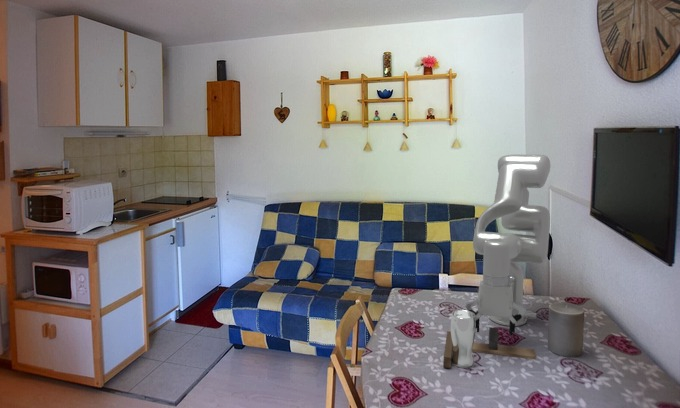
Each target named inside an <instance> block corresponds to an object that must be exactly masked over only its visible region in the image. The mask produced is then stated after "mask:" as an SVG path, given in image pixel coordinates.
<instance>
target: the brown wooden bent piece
mask: <svg viewBox="0 0 680 408" xmlns="http://www.w3.org/2000/svg"><path fill="white" fill-rule="evenodd" d="M488 330H489V331H488V343H484V342H475V341H474V343H473V347H472V353H474V352H475V353H479V354H481V353H482V354H489V355H498V356H507V357H514V358H520V359H521V358H523V359H529V360H537V355H536V352H535V349H534V348H528V347H520V346H519V347H518V346H510V345H502V344H501V345H500V344H499V328H497V327H488ZM452 355H453V344H452V338H451V330H450V331H449V330H448V331H446V338H445V346H444V353H443V368H446V369H451V368H452V362H451V360H452Z"/></svg>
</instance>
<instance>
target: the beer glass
mask: <svg viewBox="0 0 680 408" xmlns="http://www.w3.org/2000/svg"><path fill="white" fill-rule="evenodd" d="M450 332H451V338H452V344H453V350H452V360H451V365H453V366H455V367H458V368H461V369H467V368H471V367H472V366H473V365H474V360H473V352H472V347H473V343H474V342H475V338H476V332H477V328H476V323H475V314H474V313H473V312H470V311H468V310H467V309H466V310H465V309H456V310H454V311H452V312H451V319H450Z"/></svg>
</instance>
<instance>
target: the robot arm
mask: <svg viewBox="0 0 680 408" xmlns="http://www.w3.org/2000/svg"><path fill="white" fill-rule="evenodd" d="M497 170H498V171H497V172H498V176H497V177H498V178H497V183H496V188H495V189H496V190H495V195H494V199H493V200H494V202H493V203H492V204H490V205H489V206H488V207H486V209H485V210H483V212H482V213H481V214H480V215H479V217H478V219H477V221H476V223H475V229H474V232H473V233H474V234H473V239H472V249H473V250H474V252H475V253H476V254H478V255H480V256H481V255H482V256H483V264H482V265H483V266H482V280H480V283H479V286H478V293H477V299H474V300H472V301H471V300H470V301H469V302H467V303H465V307H466V310H467V311H470V312H473V313H474V314H475V323H476V333H480V319H481V317H482V316H488V317H489V319H490V320H491V321H492V322H494V323H496V324H499V325H503V326H506V327H507V326H509V327H508V329H509V330H508V331H509V332H508V333H509V336H510V337H511V336H513V335H514V334H513V333H516V327H520V326H522V325H525V324H526V323H527V318H530V319H537V312H533V311H532V310H526V308H525V307H524V306H523V301H524V299H523V298H524V297H523V296H524V277H525V275H524V270H523V268H522V267H521V266H520V264H519V262H520V263H527V264H528V263H529V264H539V265H540V264H543V263H545V262H546V260H547V258H548V253H549V240H550V227H551V215H550V214H551V213H550V211H549V209H548V208H547V207H545V206H542V205H535V204H534V205H533V204H529V197H530V191H529V189H542V188H543V187H544V186H545V184H546V182H547V180H548V177H549V174H550V171H551V160H550V157H548V156H547V155H545V154H505V155H503V156H501V157H499V159H498V160H497ZM499 218H501V222H500V223H501V225H502V226H501V227H503V229H505V230H508V231H514V232H526V233H532V235H531V234H521V233H509V232H507V233H503V232H495V231H494V232H493V231H486V228H487V227H488V225H489V224H490V223H492V222H493V221H494V220H497V219H499ZM533 234H534V235H533ZM475 306H477V310H476V311H475V310H474V309H473V308H472V307H475Z"/></svg>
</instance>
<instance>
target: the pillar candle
mask: <svg viewBox="0 0 680 408" xmlns="http://www.w3.org/2000/svg"><path fill="white" fill-rule="evenodd" d="M547 323H548V325H547V326H548V327H547V329H548V330H547V350H549V352H552V353H554V354H556V355H558V356H560V357H565V358H578V357H580V356H582V354H583V347H584V329H585V327H584V326H585V309H584V308H583V307H582V306H579V305H577V304H574V303H569V302H563V301H561V302H558V301H557V302H552V303H550V304H549V305H548V322H547Z"/></svg>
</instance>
